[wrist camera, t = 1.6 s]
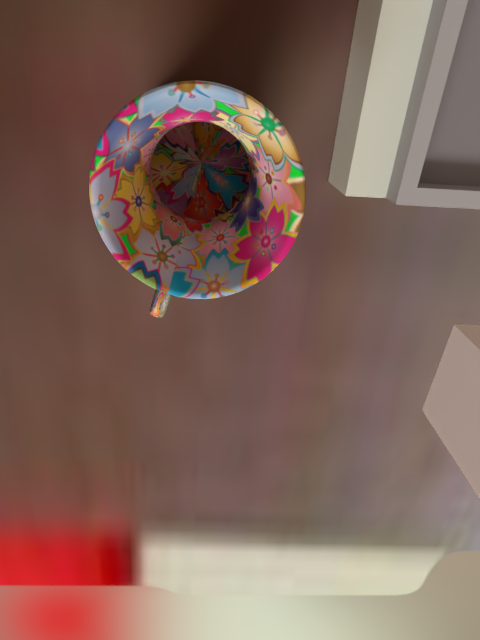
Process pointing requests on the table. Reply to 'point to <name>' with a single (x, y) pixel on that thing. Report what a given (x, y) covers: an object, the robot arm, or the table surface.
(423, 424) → the table surface
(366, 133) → the open box
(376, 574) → the table surface
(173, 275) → the mug
